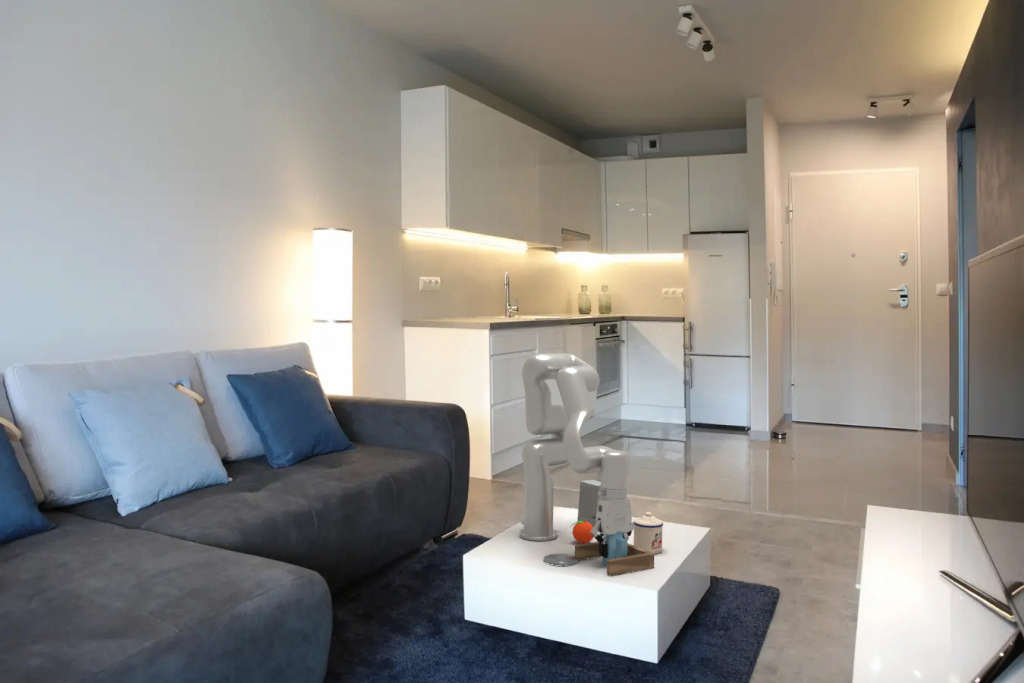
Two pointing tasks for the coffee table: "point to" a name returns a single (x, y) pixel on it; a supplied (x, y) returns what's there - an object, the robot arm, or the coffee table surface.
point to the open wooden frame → (632, 562)
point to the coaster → (561, 559)
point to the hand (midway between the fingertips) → (612, 554)
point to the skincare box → (588, 501)
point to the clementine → (582, 532)
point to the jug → (616, 547)
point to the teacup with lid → (648, 533)
